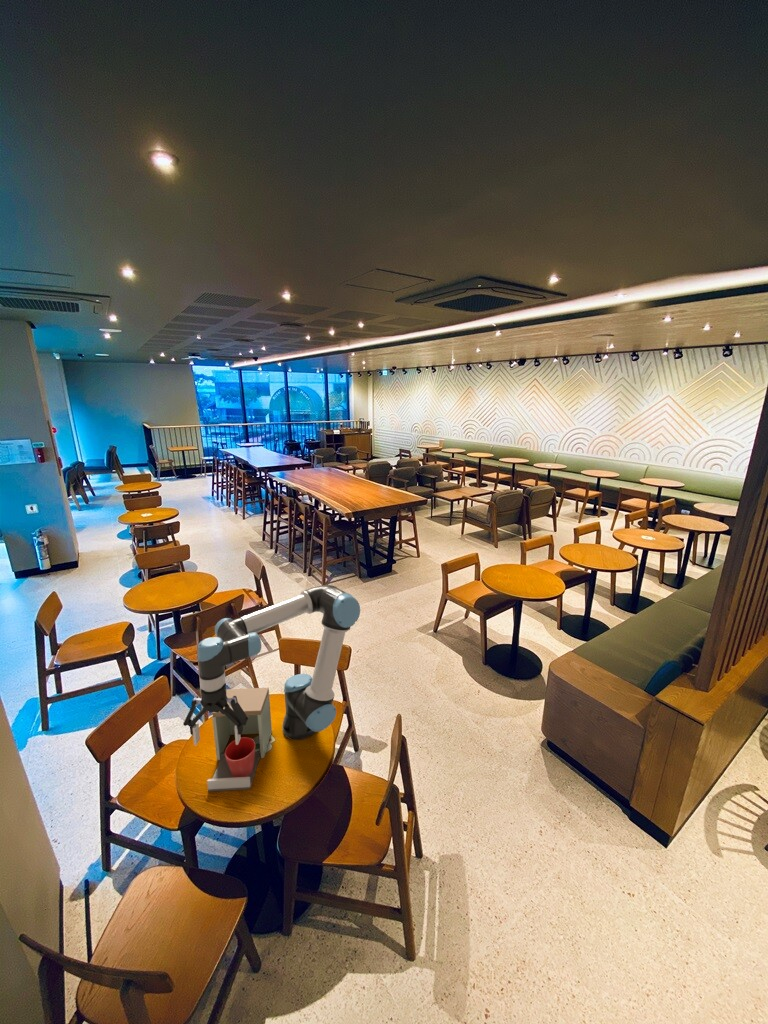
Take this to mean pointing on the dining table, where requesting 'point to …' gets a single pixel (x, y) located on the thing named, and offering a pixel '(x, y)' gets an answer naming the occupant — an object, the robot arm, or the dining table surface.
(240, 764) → the flower pot
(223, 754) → the tray
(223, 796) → the dining table surface
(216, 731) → the beige open box
